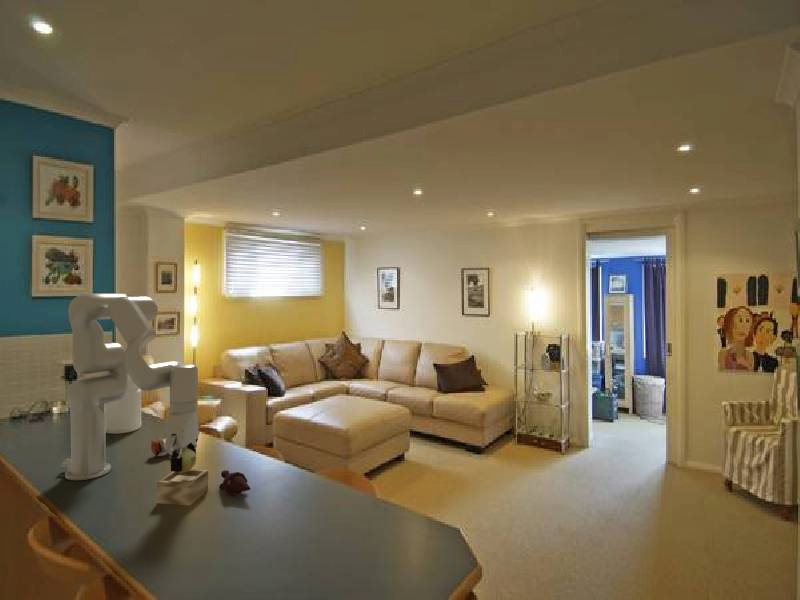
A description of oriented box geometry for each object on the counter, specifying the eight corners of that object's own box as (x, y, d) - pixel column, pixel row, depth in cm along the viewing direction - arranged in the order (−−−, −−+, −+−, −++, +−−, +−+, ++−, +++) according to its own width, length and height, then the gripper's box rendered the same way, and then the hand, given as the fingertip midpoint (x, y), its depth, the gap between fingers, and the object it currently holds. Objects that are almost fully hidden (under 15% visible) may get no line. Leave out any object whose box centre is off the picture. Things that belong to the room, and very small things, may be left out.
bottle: (128, 434, 191) (129, 367, 190) (96, 433, 191) (96, 367, 191) (147, 424, 205) (148, 362, 204) (117, 424, 205) (117, 361, 205)
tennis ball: (190, 451, 133) (197, 443, 139) (166, 455, 132) (173, 447, 138) (194, 472, 133) (200, 463, 140) (169, 477, 132) (177, 467, 139)
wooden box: (157, 503, 131) (157, 481, 131) (177, 488, 141) (177, 468, 141) (190, 505, 131) (190, 483, 130) (208, 490, 141) (208, 470, 140)
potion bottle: (198, 450, 178) (158, 466, 166) (185, 432, 182) (146, 446, 170) (203, 435, 174) (163, 450, 162) (190, 416, 178) (151, 430, 166)
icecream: (262, 475, 137) (233, 467, 146) (241, 476, 131) (212, 468, 140) (258, 500, 135) (229, 490, 144) (236, 502, 130) (208, 492, 139)
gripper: (187, 399, 144) (187, 455, 145) (153, 413, 127) (153, 477, 127) (210, 399, 144) (210, 456, 144) (179, 414, 126) (179, 478, 127)
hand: (183, 465), depth 136 cm, fingers closed on tennis ball, 6 cm apart
